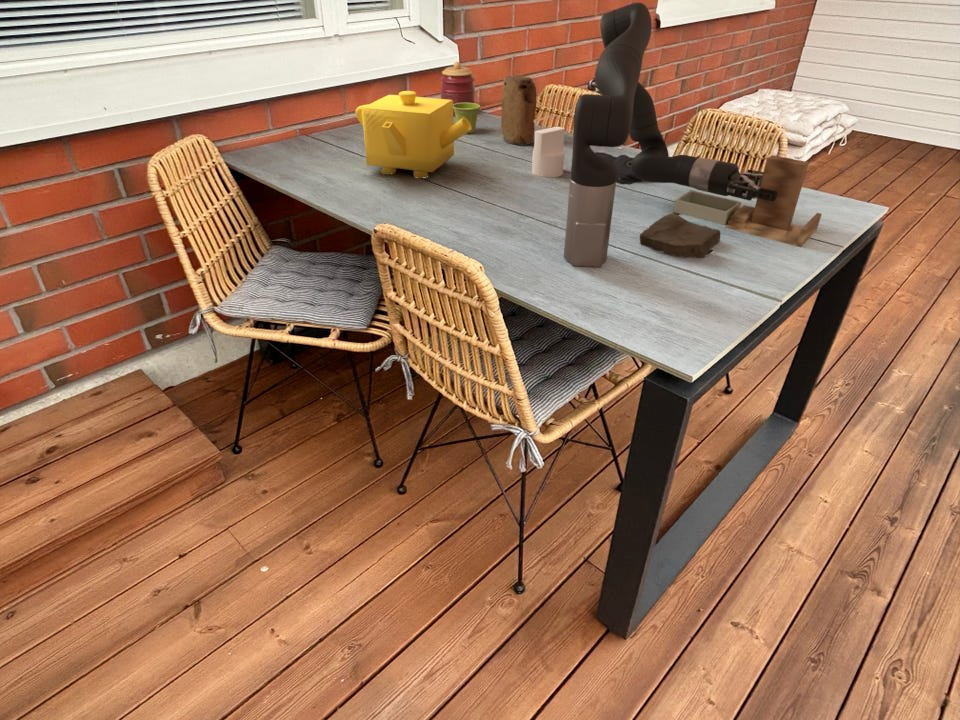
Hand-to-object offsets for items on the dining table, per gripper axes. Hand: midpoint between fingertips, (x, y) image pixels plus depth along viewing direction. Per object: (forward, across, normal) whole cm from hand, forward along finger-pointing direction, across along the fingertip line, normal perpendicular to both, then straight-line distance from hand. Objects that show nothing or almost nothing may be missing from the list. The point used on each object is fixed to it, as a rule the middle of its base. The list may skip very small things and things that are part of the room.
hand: (782, 191), depth 146 cm
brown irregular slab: (-14, -19, +11) cm, 26 cm away
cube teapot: (-97, -19, +10) cm, 99 cm away
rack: (-1, 0, +10) cm, 10 cm away
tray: (-16, 0, +10) cm, 19 cm away
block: (-90, +23, +10) cm, 93 cm away
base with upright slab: (-65, +4, +10) cm, 66 cm away
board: (-1, 0, +9) cm, 9 cm away
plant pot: (-111, +22, +10) cm, 114 cm away
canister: (-131, +41, +10) cm, 138 cm away
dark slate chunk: (-50, +17, +11) cm, 54 cm away
